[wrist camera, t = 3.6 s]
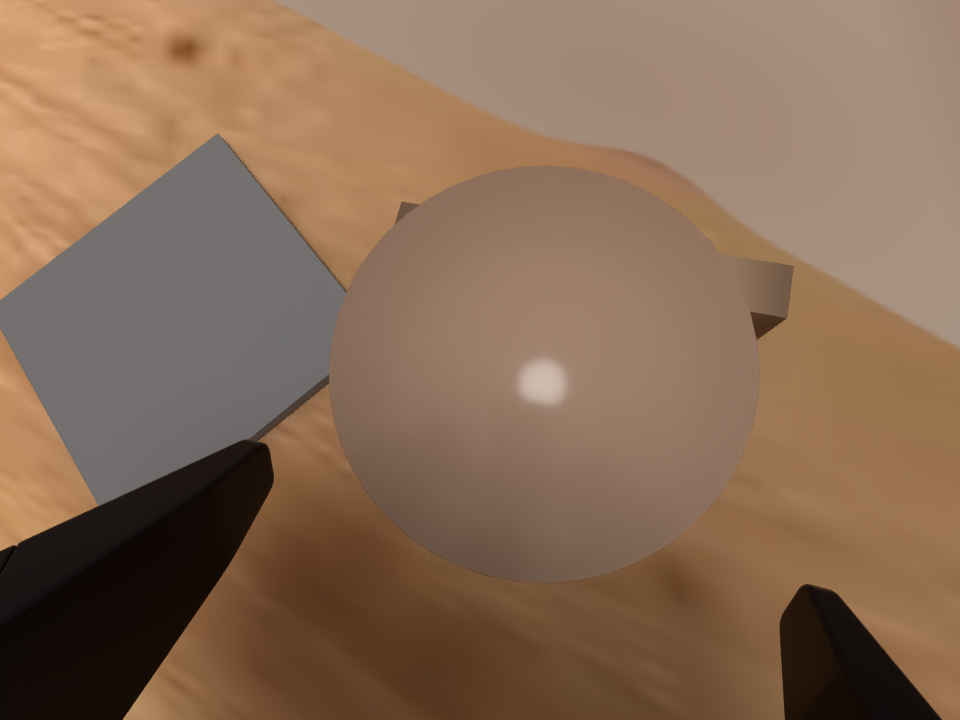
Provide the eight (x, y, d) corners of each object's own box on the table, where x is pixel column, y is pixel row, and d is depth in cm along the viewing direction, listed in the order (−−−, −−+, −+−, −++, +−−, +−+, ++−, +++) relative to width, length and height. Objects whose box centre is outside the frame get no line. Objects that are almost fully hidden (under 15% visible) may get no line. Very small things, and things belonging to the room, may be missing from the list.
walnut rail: (744, 311, 19) (793, 266, 16) (738, 353, 19) (786, 318, 15) (427, 253, 21) (401, 201, 18) (417, 291, 21) (388, 245, 17)
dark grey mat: (383, 337, 21) (378, 333, 20) (132, 542, 20) (119, 544, 19) (225, 141, 24) (217, 133, 23) (3, 313, 23) (-11, 308, 23)
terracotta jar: (649, 454, 19) (861, 376, 6) (534, 553, 18) (507, 688, 6) (550, 345, 20) (554, 96, 7) (441, 435, 20) (253, 336, 7)
